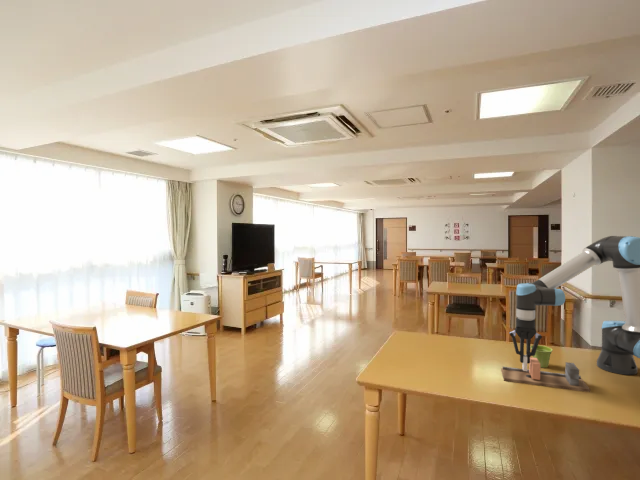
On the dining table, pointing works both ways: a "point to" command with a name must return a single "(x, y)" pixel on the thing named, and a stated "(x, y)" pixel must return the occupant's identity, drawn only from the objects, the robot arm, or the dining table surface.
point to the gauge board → (548, 378)
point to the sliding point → (534, 368)
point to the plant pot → (542, 355)
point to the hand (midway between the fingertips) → (524, 369)
